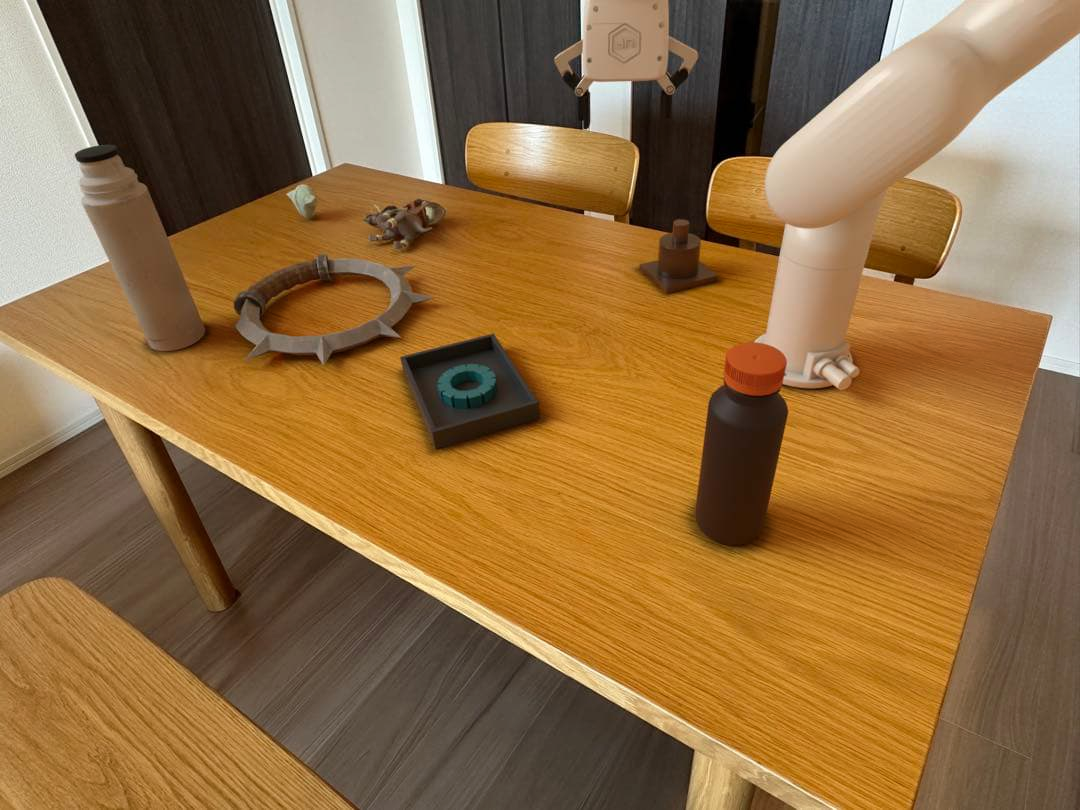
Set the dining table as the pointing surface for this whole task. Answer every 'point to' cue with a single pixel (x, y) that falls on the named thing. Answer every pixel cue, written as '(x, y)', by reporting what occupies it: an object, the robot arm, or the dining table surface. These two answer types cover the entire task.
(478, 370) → the ring
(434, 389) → the tray
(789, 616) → the dining table surface
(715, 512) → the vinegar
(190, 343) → the thermos bottle
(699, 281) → the ring stand
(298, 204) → the pale green irregular chunk
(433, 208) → the figurine
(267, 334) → the spiked ring
